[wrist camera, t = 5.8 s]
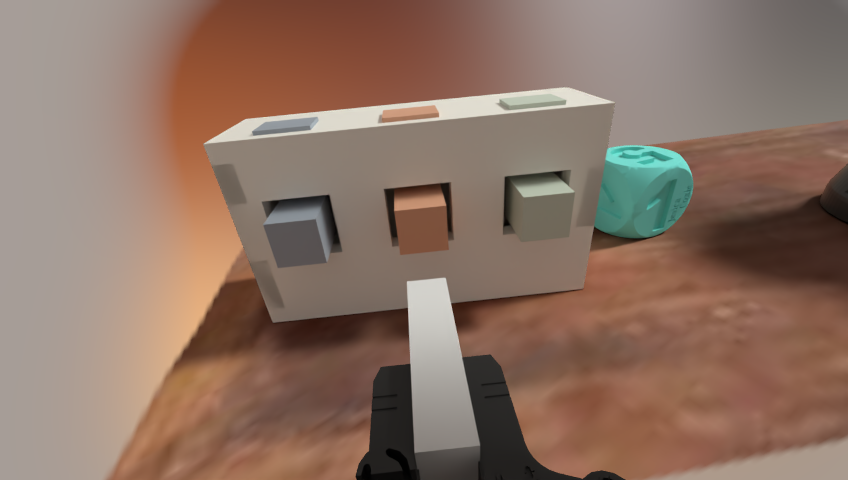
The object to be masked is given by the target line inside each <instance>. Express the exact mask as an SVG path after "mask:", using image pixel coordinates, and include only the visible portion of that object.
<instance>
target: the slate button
mask: <svg viewBox="0 0 848 480" xmlns="http://www.w3.org/2000/svg"><path fill="white" fill-rule="evenodd" d="M263 226H264V229H265V232H266V235H267V238H268V241H269V244H270V247H271V249H272V252H273V255H274V258H275V261H276V264H277V267H278V268H284V267H293V266H302V265H312V264H321V263H327V261H328V258H329V255H330V251H331V248H332V244H333V241H334V238H335V234H336V231H337V230H336V226H335V222H334V217H333V213H332V209H331V204H330V200H329V196H328V195H320V196H311V197H301V198H291V199H282V200H280V201H279V202H278V204H277V205H276V207H275V208H274V209H273V211H272V212H271V214H270V215H269V217H268V218H267V220H266V221H265V223H264V224H263Z"/></svg>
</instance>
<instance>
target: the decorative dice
mask: <svg viewBox="0 0 848 480" xmlns="http://www.w3.org/2000/svg"><path fill="white" fill-rule="evenodd" d="M692 191H693V178H692V174H691V171H690V169H689V167H688V165H687V163H686V162H685V160H684V159H683V158H682V157H681V156H680V155H679V154H677V153H676V152H673V151H670V150H667V149H663V148H658V147H651V146H635V145H631V146H617V147H612V148H608V149H607V154H606V160H605V165H604V171H603V177H602V183H601V189H600V194H599V200H598V206H597V212H596V217H595V223H594V227H596V228H597V229H599V230H600V231H603V232H605V233H607V234H611V235H614V236H618V237H624V238H648V237H653V236H656V235H658V234H660V233H662V232H664V231H666V230H667V229H668V228H670V227H671V226H672V225H673V224H674V223H675V222H676V221H677V220H678V219H679V218H680V216H681V215H682V214H683V212H684V211H685V209H686V207H687V205H688V203H689V201H690V199H691V196H692Z"/></svg>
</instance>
